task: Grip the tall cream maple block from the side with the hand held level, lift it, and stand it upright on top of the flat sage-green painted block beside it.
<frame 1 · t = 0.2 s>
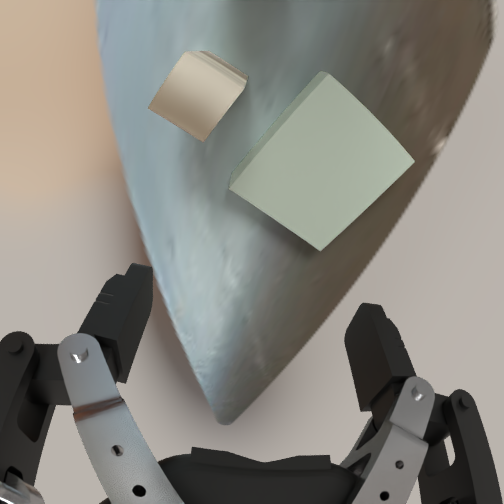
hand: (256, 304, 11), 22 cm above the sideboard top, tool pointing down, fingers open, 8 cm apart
sage block: (318, 157, 30), on the sideboard top
maple block: (214, 81, 25), on the sideboard top
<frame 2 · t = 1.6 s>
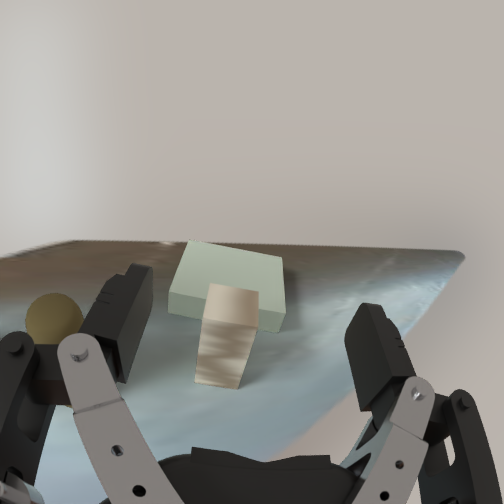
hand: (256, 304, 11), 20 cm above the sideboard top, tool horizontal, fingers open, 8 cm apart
brown rounded piece: (78, 384, 25), on the sideboard top
sage block: (227, 295, 42), on the sideboard top
maple block: (217, 369, 31), on the sideboard top
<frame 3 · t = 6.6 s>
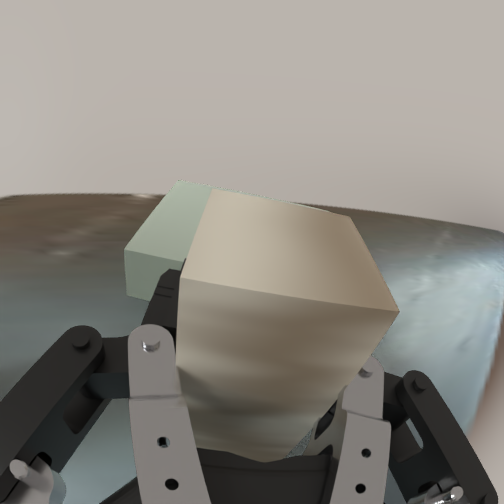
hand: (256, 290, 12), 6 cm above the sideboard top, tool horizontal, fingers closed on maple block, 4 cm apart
sage block: (240, 269, 24), on the sideboard top
maple block: (229, 420, 13), on the sideboard top, touching gripper
when the fingers open (10 cm above the sideboard top, at t = 12.8 s): maple block stays where it is, resting on sage block.
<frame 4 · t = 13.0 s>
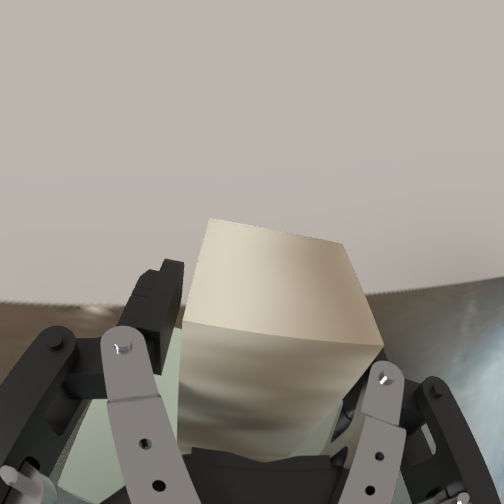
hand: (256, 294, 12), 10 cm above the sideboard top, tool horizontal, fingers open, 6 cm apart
sage block: (217, 451, 15), on the sideboard top, touching maple block
maple block: (227, 428, 13), point 3 cm above the sideboard top, touching sage block
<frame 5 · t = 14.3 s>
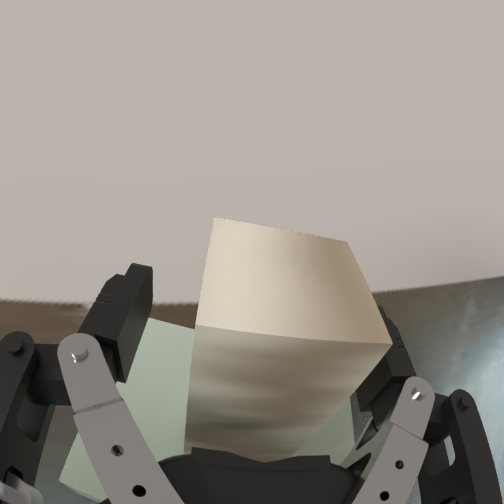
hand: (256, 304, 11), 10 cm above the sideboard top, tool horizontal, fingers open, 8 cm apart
sage block: (218, 448, 16), on the sideboard top, touching maple block
maple block: (232, 426, 13), point 4 cm above the sideboard top, touching sage block
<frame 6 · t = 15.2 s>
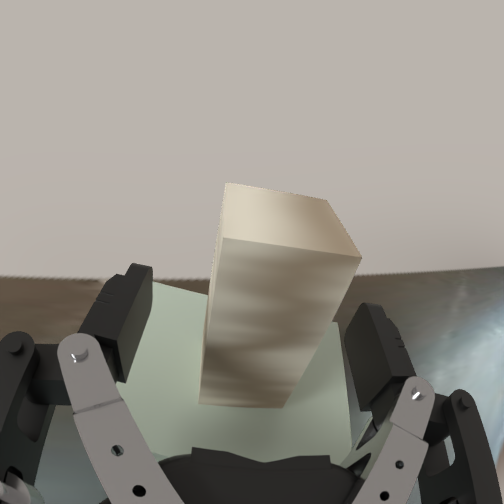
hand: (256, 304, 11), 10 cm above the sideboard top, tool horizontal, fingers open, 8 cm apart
sage block: (223, 403, 18), on the sideboard top
maple block: (239, 373, 16), point 3 cm above the sideboard top
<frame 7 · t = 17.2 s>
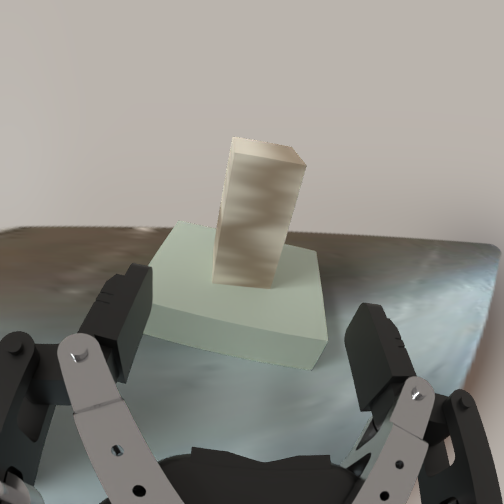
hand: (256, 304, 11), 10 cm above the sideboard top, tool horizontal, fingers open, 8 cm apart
sage block: (231, 306, 27), on the sideboard top, touching maple block
maple block: (239, 268, 25), point 3 cm above the sideboard top, touching sage block
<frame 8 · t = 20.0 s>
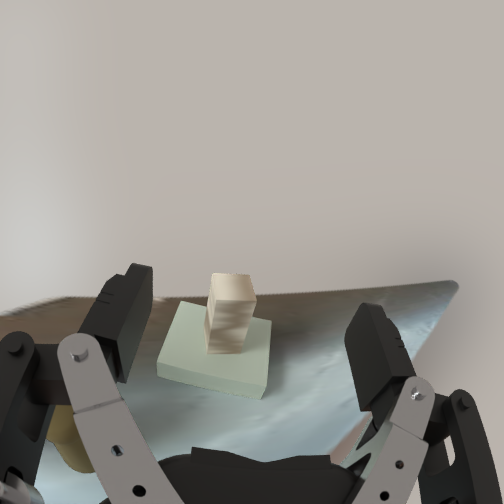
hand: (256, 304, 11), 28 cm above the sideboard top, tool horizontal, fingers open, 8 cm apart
brown rounded piece: (84, 450, 25), on the sideboard top
sage block: (215, 357, 42), on the sideboard top, touching maple block
maple block: (221, 340, 40), point 4 cm above the sideboard top, touching sage block
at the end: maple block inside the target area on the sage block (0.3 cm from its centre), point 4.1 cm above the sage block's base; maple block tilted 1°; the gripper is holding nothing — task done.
